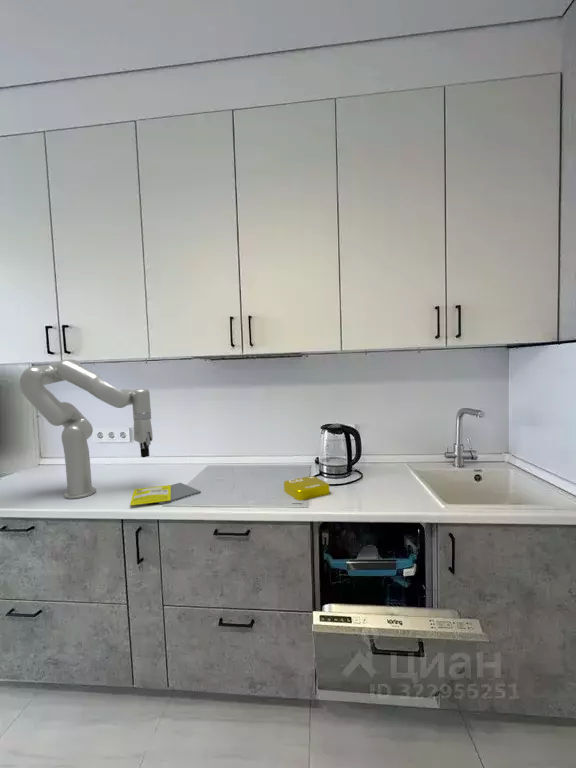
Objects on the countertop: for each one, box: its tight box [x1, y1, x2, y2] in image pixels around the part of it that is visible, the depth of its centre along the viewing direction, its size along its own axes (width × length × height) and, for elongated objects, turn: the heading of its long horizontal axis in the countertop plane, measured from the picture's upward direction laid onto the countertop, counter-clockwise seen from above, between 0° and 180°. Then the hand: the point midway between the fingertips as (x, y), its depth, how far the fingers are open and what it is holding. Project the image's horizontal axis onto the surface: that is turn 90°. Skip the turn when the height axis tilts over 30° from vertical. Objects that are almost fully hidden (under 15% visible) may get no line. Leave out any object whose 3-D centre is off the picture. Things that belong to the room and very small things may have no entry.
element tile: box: [283, 475, 331, 502], centre depth 167 cm, size 15×15×5 cm
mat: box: [155, 482, 202, 506], centre depth 172 cm, size 18×18×1 cm
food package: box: [129, 484, 172, 506], centre depth 169 cm, size 15×1×20 cm
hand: (145, 456), depth 182 cm, fingers closed
